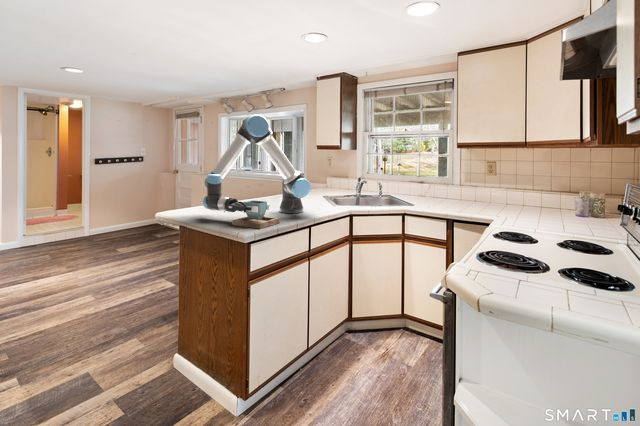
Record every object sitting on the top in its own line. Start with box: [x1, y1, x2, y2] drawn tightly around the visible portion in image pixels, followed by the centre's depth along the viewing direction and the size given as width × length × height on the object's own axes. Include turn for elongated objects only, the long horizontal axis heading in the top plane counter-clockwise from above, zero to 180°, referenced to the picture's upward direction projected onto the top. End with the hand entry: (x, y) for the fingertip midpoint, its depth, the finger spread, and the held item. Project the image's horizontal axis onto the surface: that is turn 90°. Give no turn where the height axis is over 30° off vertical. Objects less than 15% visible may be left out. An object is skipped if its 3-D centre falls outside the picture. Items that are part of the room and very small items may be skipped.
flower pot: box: [244, 200, 268, 220], centre depth 180 cm, size 9×9×9 cm
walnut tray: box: [231, 216, 280, 230], centre depth 181 cm, size 17×17×2 cm
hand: (263, 208), depth 178 cm, fingers closed on flower pot, 9 cm apart
